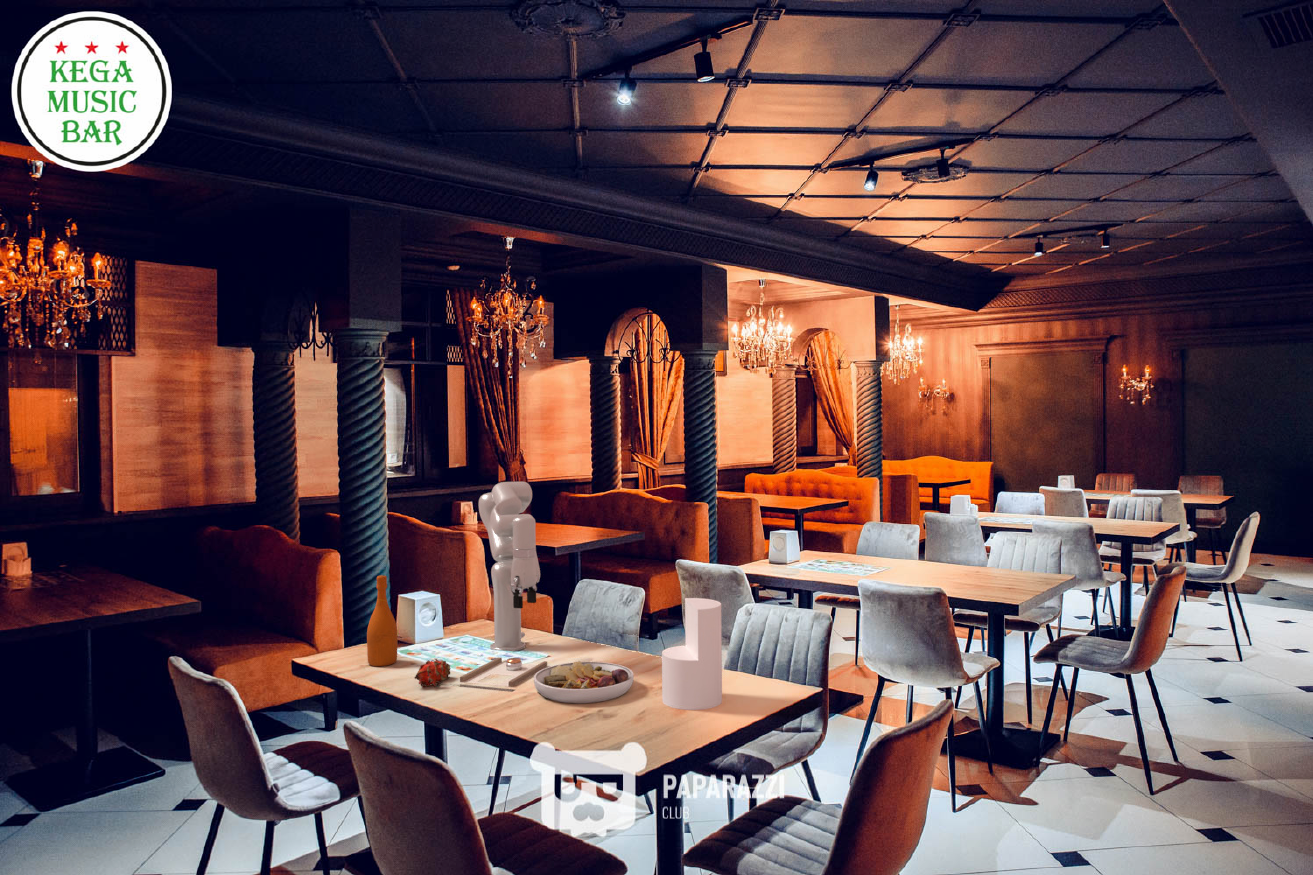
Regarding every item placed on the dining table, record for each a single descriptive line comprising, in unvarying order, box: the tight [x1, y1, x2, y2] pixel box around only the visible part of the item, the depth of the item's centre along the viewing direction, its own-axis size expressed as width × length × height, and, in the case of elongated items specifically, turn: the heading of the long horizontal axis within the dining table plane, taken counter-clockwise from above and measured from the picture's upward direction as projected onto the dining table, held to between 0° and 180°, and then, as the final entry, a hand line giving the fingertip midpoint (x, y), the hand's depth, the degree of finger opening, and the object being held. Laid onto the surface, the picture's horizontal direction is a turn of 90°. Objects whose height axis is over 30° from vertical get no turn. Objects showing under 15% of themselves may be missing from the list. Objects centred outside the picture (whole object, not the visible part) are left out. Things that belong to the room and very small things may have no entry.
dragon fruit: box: [414, 658, 451, 688], centre depth 265 cm, size 8×8×12 cm
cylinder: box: [661, 597, 723, 711], centre depth 247 cm, size 17×17×28 cm
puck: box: [505, 657, 523, 671], centre depth 277 cm, size 5×5×3 cm
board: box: [459, 657, 548, 693], centre depth 271 cm, size 24×18×3 cm
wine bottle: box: [366, 574, 398, 667], centre depth 290 cm, size 10×10×30 cm
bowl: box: [533, 660, 635, 704], centre depth 258 cm, size 30×30×8 cm
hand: (525, 605), depth 285 cm, fingers open, 9 cm apart
